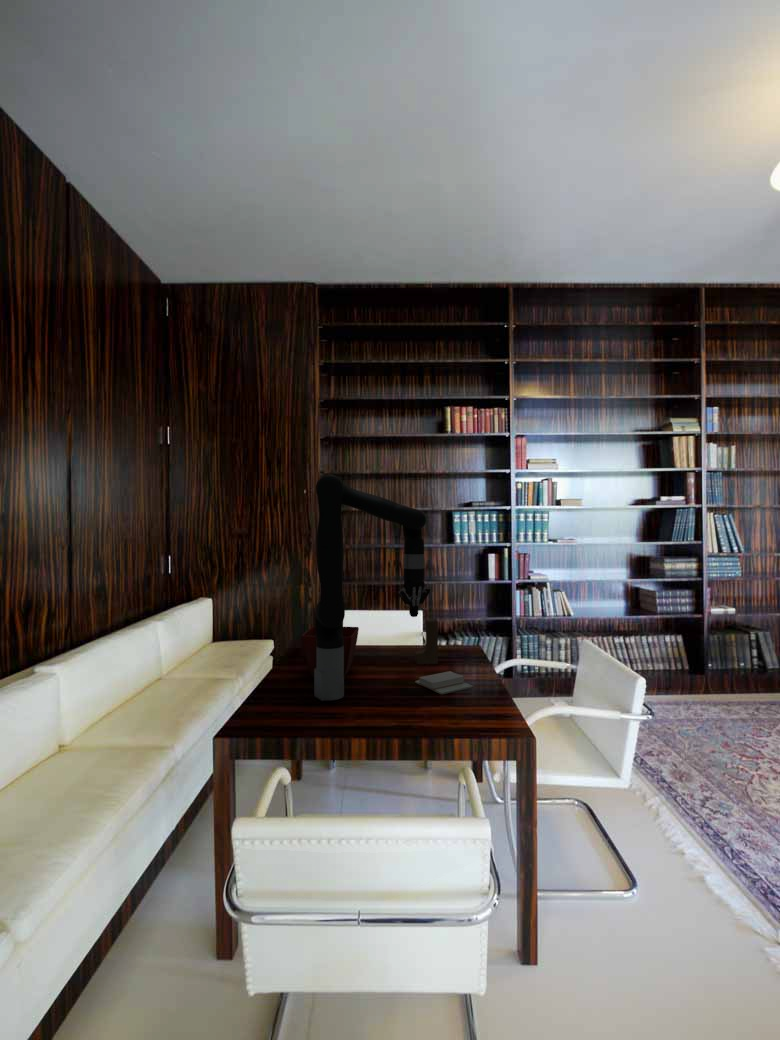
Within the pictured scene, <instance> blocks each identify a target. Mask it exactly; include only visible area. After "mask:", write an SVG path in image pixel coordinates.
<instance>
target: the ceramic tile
mask: <svg viewBox="0 0 780 1040" xmlns="http://www.w3.org/2000/svg"><path fill="white" fill-rule="evenodd" d="M418 680H419V684H420V685H419V684H418V685H419V686H422V687H424V686H425V687H424V688H426V687H427V688H426V689H428V688H429V690H430V689H431V691H433V690H436V689H440V688H445V687H449V686H454V685H459V684H463V683H465V676H463V675H461V674H458V673H456V672H454V671H450V670H449V671H448V670H447V671H444V672H440V673H434V674H430V675H429V674H428V675H424V676H419V677H418Z"/></svg>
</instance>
